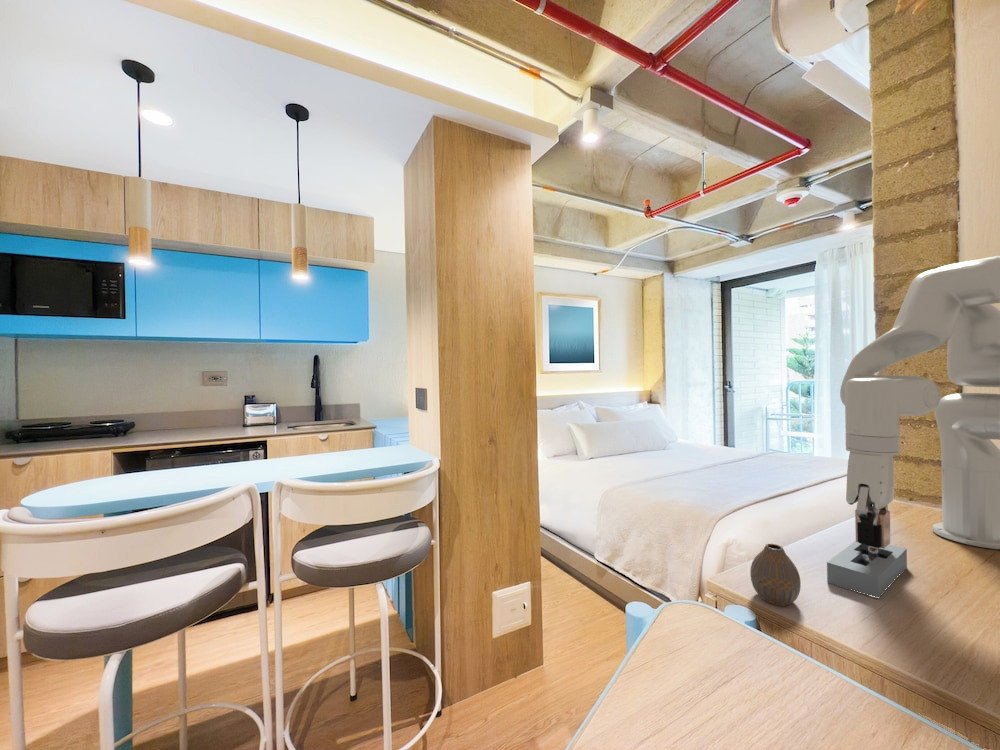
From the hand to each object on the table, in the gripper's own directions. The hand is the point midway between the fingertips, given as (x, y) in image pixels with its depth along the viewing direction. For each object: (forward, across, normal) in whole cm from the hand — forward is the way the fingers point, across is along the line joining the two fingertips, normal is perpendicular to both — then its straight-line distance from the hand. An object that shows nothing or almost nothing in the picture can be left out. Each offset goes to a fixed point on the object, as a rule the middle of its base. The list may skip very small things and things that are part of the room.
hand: (873, 540), depth 77 cm
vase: (+6, +25, -6) cm, 27 cm away
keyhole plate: (+5, +3, 0) cm, 6 cm away
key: (+4, 0, 0) cm, 4 cm away
